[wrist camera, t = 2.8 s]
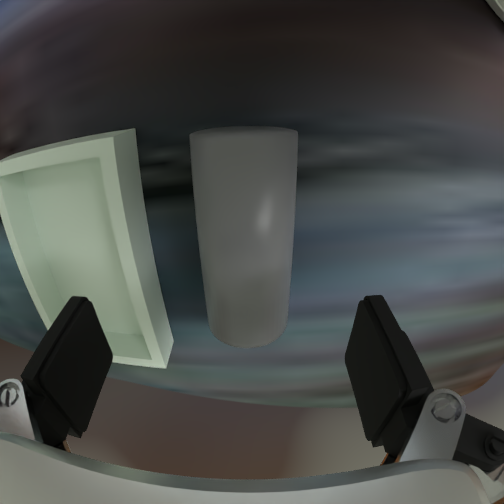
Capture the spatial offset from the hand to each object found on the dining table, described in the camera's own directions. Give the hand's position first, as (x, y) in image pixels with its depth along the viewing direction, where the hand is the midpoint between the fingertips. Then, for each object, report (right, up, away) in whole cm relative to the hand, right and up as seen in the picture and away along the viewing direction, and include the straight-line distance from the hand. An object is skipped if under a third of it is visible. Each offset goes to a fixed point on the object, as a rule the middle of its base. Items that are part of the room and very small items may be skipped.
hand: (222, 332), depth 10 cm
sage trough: (-9, +3, +7) cm, 12 cm away
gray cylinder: (+1, +4, +6) cm, 8 cm away
